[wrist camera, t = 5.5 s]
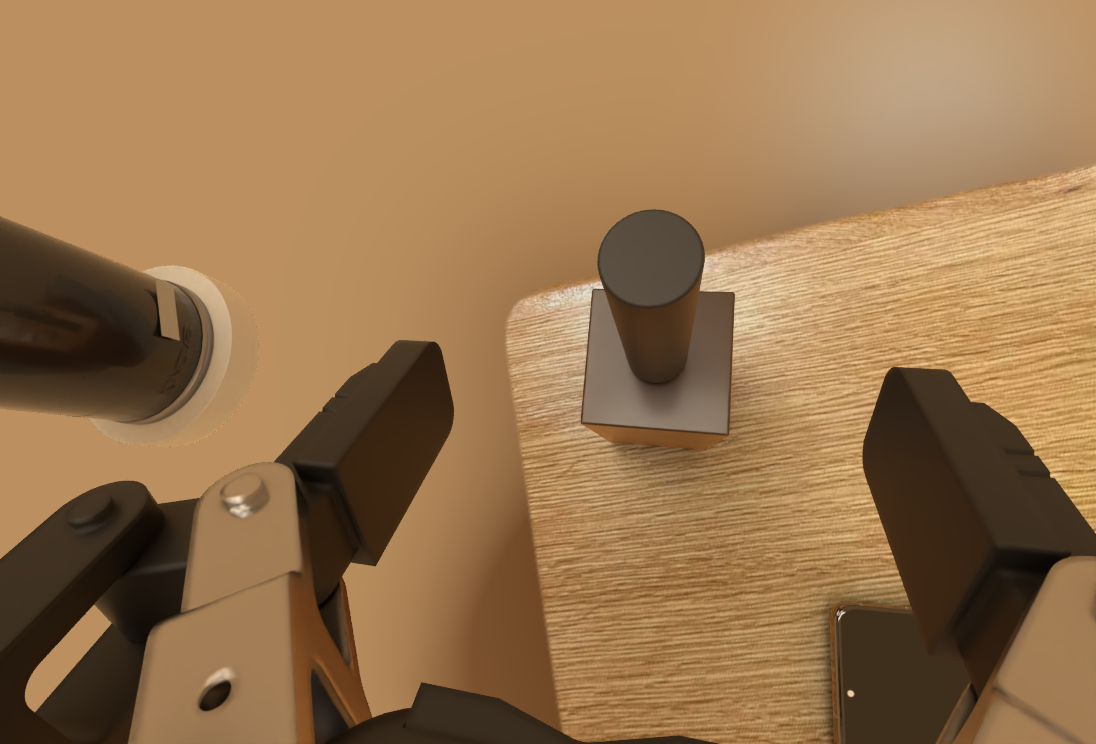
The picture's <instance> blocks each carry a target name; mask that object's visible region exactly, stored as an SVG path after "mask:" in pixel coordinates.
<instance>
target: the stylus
mask: <svg viewBox="0 0 1096 744" xmlns="http://www.w3.org/2000/svg"><path fill="white" fill-rule="evenodd" d="M704 262H705V253H704V247H703V243H702V240H701V238H700V236H699V234H698V233H697V231H696V230H695V229H694V227H693V226H692V225H691V224H690V223H689V222H688V221H686V220H685V219H684V218H682V217H680V216H678V215H676V214H674V213H671V212H668V211H664V210H644V211H640V212H636V213H633V214H631V215H628V216H627V217H625V218H623V219H622V220H620V221H619V222H617V223H616V224H615V225H614V226H613V227H612V228H611V229H610V230H609V232H608V233H607V235H606V236H605V237H604V239H603V241H602V243H601V246H600V249H599V253H598V271H599V275H600V279H601V282H602V285H603V288H604V291H605V294H606V297H607V300H608V303H609V306H610V309H611V312H612V315H613V318H614V321H615V324H616V327H617V330H618V333H619V336H620V339H621V342H622V346H623V349H624V352H625V355H626V358H627V361H628V364H629V366H630V368H631V370H632V371H633V372H634V374H635V375H636V376H638V377H639V378H641V379H642V380H644V381H647V382H650V383H663V382H667V381H670V380H672V379H673V378H675V377H676V376H677V375H679V374H680V372H681V371H682V370H683V368H684V366H685V364H686V361H687V356H688V351H689V345H690V339H691V334H692V328H693V323H694V317H695V312H696V306H697V301H698V295H699V290H700V284H701V279H702V273H703V268H704Z"/></svg>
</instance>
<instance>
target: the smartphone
mask: <svg viewBox="0 0 1096 744" xmlns="http://www.w3.org/2000/svg"><path fill="white" fill-rule="evenodd" d="M830 647H831V673H832V699H833V726H834V744H935V743H936V741H937V739H938V738H939V736H940V734H941V732H942V730H943V728H944V726H945V725H946V723H947V721H948V719H949V717H950V715H951V713H952V711H953V710H954V708H955V706H956V704H957V702H958V700H959V698H960V697H961V695H962V693H963V691H964V690H965V688H966V687H967V685H968V684H969V683H970V681H971V679H970V676H969V674H968V671H967V669H966V666H965V664H964V661H959V660H953V659H946V658H940V657H934V656H928V653H927V650H926V647H925V645H924V642H923V639H922V636H921V633H920V630H919V628H918V625H917V622H916V619H915V616H914V613H913V610H912V608H911V607H910V606H905V607H898V606H887V605H876V604H866V603H855V602H840V603H838V604H836V605H835V606H834V607H833V608H832V610H831V612H830Z"/></svg>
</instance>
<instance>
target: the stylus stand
mask: <svg viewBox="0 0 1096 744" xmlns="http://www.w3.org/2000/svg"><path fill="white" fill-rule="evenodd" d="M734 303H735V294H734V293H733V292H704V291H699V295H698V301H697V306H696V312H695V317H694V323H693V328H692V334H691V339H690V345H689V351H688V356H687V361H686V364H685V366H684V368H683V370H682V371H681V372H680V374H679V375H677V376H676V377H675V378H673V379H672V380H670V381H667V382H663V383H650V382H647V381H644V380H642V379H641V378H639V377H638V376H636V375H635V374H634V372H633V371H632V370H631V368H630V366H629V364H628V361H627V358H626V355H625V352H624V349H623V346H622V342H621V339H620V336H619V333H618V330H617V327H616V324H615V321H614V318H613V315H612V312H611V309H610V306H609V303H608V300H607V297H606V294H605V291H604V289H593V290H592V299H591V310H590V322H589V333H588V345H587V356H586V367H585V379H584V390H583V401H582V413H581V424H583V425H584V426H586V427H588V428H589V429H591V430H592V431H594V432H596V433H597V434H599V435H600V436H602V437H603V438H605V439H607V440H608V441H610V442H619V443H631V444H642V445H653V446H665V447H676V448H688V449H699V450H707V449H708V448H710V447H711V446H713V445H714V444H716V443H717V442H719V441H721V440H722V439H724V438H725V437H727V436H728V435H729V425H730V401H731V376H732V352H733V327H734Z"/></svg>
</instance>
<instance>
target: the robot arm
mask: <svg viewBox="0 0 1096 744" xmlns="http://www.w3.org/2000/svg"><path fill="white" fill-rule="evenodd" d="M213 342H214V337H213V326H212V321H211V318H210V315H209V312H208V310H207V308H206V306H205V305H204V303H203V302H202V300H201V299H200V298H199V297H198V296H197V295H196V294H195V293H194V292H192V291H191V290H189V289H188V288H185V287H183V286H181V285H178V284H176V283H173V282H170V281H166V280H161V279H159V278H156V277H154V276H151V275H148V274H146V273H143V272H140V271H138V270H136V269H133V268H130V267H128V266H126V265H124V264H121V263H118V262H115V261H113V260H111V259H108V258H106V257H103V256H100V255H98V254H95V253H93V252H90V251H87V250H85V249H82V248H80V247H77V246H75V245H72V244H70V243H67V242H64V241H62V240H59V239H57V238H54V237H52V236H49V235H46V234H44V233H41V232H39V231H36V230H34V229H31V228H29V227H26V226H23V225H21V224H18V223H15V222H13V221H10V220H8V219H5V218H2V217H0V409H7V410H16V411H26V412H37V413H47V414H56V415H65V416H73V417H83V418H93V419H103V420H112V421H115V422H119V423H125V424H135V425H144V424H151V423H155V422H158V421H161V420H163V419H165V418H167V417H169V416H171V415H172V414H174V413H175V412H177V411H178V410H179V409H180V408H182V407H183V406H184V405H185V404H186V403H187V402H188V401H189V400H190V399H191V397H192V396H193V395H194V394H195V392H196V391H197V390H198V388H199V386H200V385H201V383H202V381H203V379H204V377H205V375H206V373H207V370H208V368H209V364H210V361H211V357H212V352H213ZM453 417H454V406H453V401H452V396H451V391H450V387H449V382H448V378H447V373H446V369H445V364H444V360H443V355H442V351H441V349H440V347H439V345H438V344H437V343H436V342H427V341H408V340H399V341H397V342H395V343H394V344H393V345H392V346H391V348H390V349H389V350H388V351H387V352H386V353H385V355H384V356H383V357H382V358H381V359H380V361H379V362H378V363H372V364H370V365H369V366H367V367H366V368H364V369H363V370H361V371H359V372H358V373H356V374H354V375H353V376H351V377H350V378H349V379H348V380H347V381H346V382H345V384H344V385H343V386H342V387H341V388H340V389H339V390H338V391H337V392H336V394H335V398H333V397H332V398H331V399H330V400H329V402H327V404H326V405H325V406H324V407H323V411H322V412H318V414H317V415H316V416H315V417H314V418H313V419H312V421H310V422H309V424H308V425H307V426H306V427H305V428H304V429H303V430H302V431H301V433H300V434H299V435H298V436H297V437H296V438H295V439H294V440H293V441H292V442H291V444H290V445H289V446H288V447H287V448H286V449H285V450H284V451H283V452H282V454H281V455H280V456H279V457H278V458H277V459H276V460H275V461H274V462H263V463H256V464H252V465H248V466H245V467H242V468H240V469H237V470H235V471H233V472H231V473H229V474H228V475H225V476H224V477H222V478H221V479H219V480H218V481H216V482H215V483H214V484H213V485H211V486H210V487H209V488H208V489H207V490H206V491H205V493H203V495H202V496H201V497H200V498H197V499H190V500H183V501H176V502H170V503H162V504H157V502H156V501H155V499H154V498H153V496H152V495H151V494H150V492H149V491H148V489H147V488H146V486H144V485H143V484H142V483H139V482H135V481H119V482H114V483H110V484H106V485H102V486H99V487H97V488H94V489H92V490H89V491H87V492H85V493H83V494H81V495H79V496H78V497H76V498H74V499H73V500H71V501H69V502H68V503H66V504H65V505H63V506H62V507H61V508H60V509H58V510H57V511H56V512H55V513H54V514H52V515H51V516H50V517H49V518H48V519H47V520H45V521H44V522H43V523H42V524H41V525H40V526H38V527H37V528H36V529H35V530H34V531H33V532H31V533H30V534H29V535H28V536H27V537H26V538H24V539H23V540H22V541H21V542H20V543H19V544H18V545H16V546H15V547H14V548H13V549H12V550H10V551H9V552H8V553H7V554H6V555H5V556H3V557H2V558H1V559H0V744H717V743H713V742H708V741H703V740H698V739H693V738H688V737H684V736H667V737H655V738H642V739H630V740H617V741H605V742H592V743H591V742H581V741H577V740H575V739H573V738H571V737H569V736H567V735H565V734H563V733H562V732H560V731H558V730H556V729H554V728H552V727H551V726H549V725H547V724H545V723H543V722H541V721H540V720H538V719H536V718H534V717H532V716H530V715H529V714H527V713H525V712H523V711H521V710H519V709H518V708H516V707H514V706H512V705H510V704H508V703H507V702H505V701H503V700H501V699H499V698H495V697H489V696H485V695H480V694H475V693H470V692H465V691H460V690H456V689H451V688H446V687H441V686H436V685H432V684H427V683H421V685H420V688H419V690H418V692H417V695H416V697H415V700H414V703H413V705H412V707H411V708H406V709H402V710H397V711H393V712H388V713H384V714H382V715H379V716H376V717H374V718H372V716H371V712H370V709H369V706H368V703H367V700H366V697H365V694H364V690H363V687H362V683H361V678H360V673H359V666H358V660H357V654H356V647H355V641H354V635H353V628H352V622H351V616H350V610H349V604H348V597H347V590H346V586H345V582H344V580H343V578H342V576H343V573H344V572H345V571H346V569H347V567H348V566H349V564H350V562H352V563H358V564H365V565H371V566H376V565H377V563H378V561H379V559H380V557H381V556H382V554H383V552H384V550H385V548H386V547H387V544H388V543H389V541H390V539H391V538H392V536H393V534H394V532H395V531H396V529H397V527H398V525H399V523H400V522H401V520H402V518H403V516H404V514H405V513H406V511H407V509H408V507H409V506H410V504H411V502H412V500H413V498H414V496H415V495H416V493H417V491H418V489H419V487H420V486H421V484H422V482H423V480H424V479H425V477H426V475H427V473H428V472H429V470H430V468H431V466H432V464H433V463H434V461H435V459H436V457H437V455H438V453H439V452H440V450H441V448H442V446H443V445H444V443H445V441H446V439H447V438H448V436H449V433H450V431H451V428H452V424H453ZM863 468H864V473H865V476H866V479H867V482H868V485H869V488H870V491H871V494H872V496H873V499H874V502H875V505H876V508H877V511H878V513H879V516H880V519H881V522H882V525H883V528H884V531H885V533H886V536H887V539H888V542H889V545H890V548H891V551H892V553H893V556H894V559H895V562H896V565H897V568H898V570H899V573H900V576H901V579H902V582H903V585H904V588H905V590H906V593H907V596H908V599H909V602H910V605H911V608H912V610H913V613H914V616H915V619H916V622H917V625H918V628H919V630H920V633H921V636H922V639H923V642H924V645H925V647H926V650H927V653H928V656H934V657H940V658H946V659H953V660H959V661H964V664H965V666H966V669H967V671H968V674H969V676H970V679H971V681H970V683H969V684H968V685H967V687H966V688H965V690H964V691H963V693H962V695H961V697H960V698H959V700H958V702H957V704H956V706H955V708H954V710H953V711H952V713H951V715H950V717H949V719H948V721H947V723H946V725H945V726H944V728H943V730H942V732H941V734H940V736H939V738H938V739H937V741H936V743H935V744H1096V534H1095V532H1094V531H1093V529H1092V528H1091V527H1090V525H1089V524H1088V523H1087V521H1086V520H1085V519H1084V517H1083V516H1082V515H1081V513H1080V512H1079V511H1078V509H1077V508H1076V507H1075V505H1074V504H1073V502H1072V501H1071V500H1070V498H1069V497H1068V496H1067V494H1066V493H1065V492H1064V490H1063V489H1062V488H1061V486H1060V485H1059V484H1058V482H1057V481H1056V479H1055V478H1050V471H1049V470H1048V469H1047V467H1046V466H1045V465H1044V463H1043V462H1042V461H1041V459H1040V458H1039V456H1034V450H1033V448H1032V447H1031V446H1030V444H1029V443H1028V442H1027V440H1026V439H1025V438H1024V436H1023V435H1022V433H1021V432H1020V431H1019V429H1018V428H1017V427H1016V425H1014V424H1013V423H1011V422H1010V421H1009V420H1007V419H1006V418H1004V417H1003V416H1002V415H1000V414H999V413H997V412H996V411H995V410H993V409H992V408H990V407H989V406H988V405H986V404H985V403H975V402H970V400H969V399H968V397H967V396H966V394H965V393H964V391H963V390H962V388H961V387H960V385H959V384H958V382H957V381H956V379H955V378H954V376H953V375H952V374H951V372H949V371H948V370H942V369H923V368H904V367H893V368H891V369H890V370H889V371H888V373H887V374H886V376H885V379H884V381H883V384H882V387H881V390H880V393H879V396H878V399H877V402H876V406H875V409H874V412H873V415H872V418H871V421H870V424H869V427H868V430H867V433H866V436H865V439H864V444H863ZM93 605H95V606H96V607H97V608H98V609H99V610H100V611H101V612H102V613H103V614H104V615H105V616H106V617H107V618H108V620H109V621H110V622H111V623H112V624H111V625H110V626H109V628H108V629H107V630H106V631H105V632H104V633H103V634H102V636H101V637H100V638H99V639H98V640H97V641H96V643H95V644H94V645H93V646H92V647H91V648H90V649H89V651H88V652H87V653H86V654H85V655H84V656H83V658H82V659H81V660H80V661H79V662H78V663H77V664H76V666H75V667H74V668H73V669H72V670H71V671H70V673H69V674H68V675H67V676H66V677H65V678H64V680H63V681H62V682H61V683H60V684H59V685H58V687H57V688H56V689H55V690H54V691H53V692H52V693H51V695H50V696H49V697H48V698H47V699H46V700H45V701H44V703H43V704H42V705H41V706H40V707H39V708H38V710H37V711H36V712H33V711H32V710H31V709H30V708H29V707H28V706H27V704H26V702H25V689H26V685H27V683H28V680H29V678H30V676H31V674H32V673H33V671H34V670H35V668H36V667H37V666H38V665H39V663H40V662H41V661H42V660H43V659H44V658H45V657H46V656H47V655H48V654H49V653H50V651H51V650H52V649H53V648H54V647H55V646H56V645H57V644H58V643H59V642H60V641H61V640H62V638H63V637H64V636H65V635H66V634H67V633H68V632H69V631H70V630H71V628H73V627H74V625H75V624H76V623H77V622H78V621H79V620H80V619H81V618H82V617H83V616H84V615H85V614H86V612H87V611H88V610H89V609H90V608H91V607H92V606H93Z"/></svg>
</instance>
